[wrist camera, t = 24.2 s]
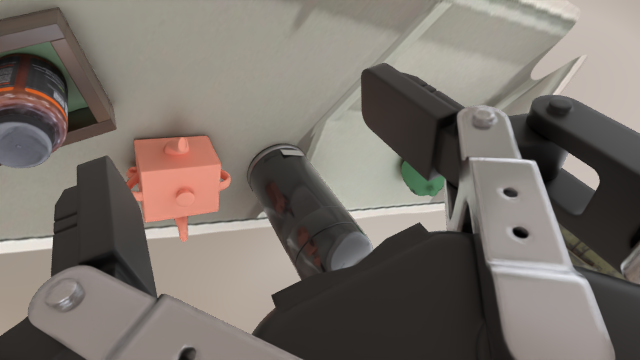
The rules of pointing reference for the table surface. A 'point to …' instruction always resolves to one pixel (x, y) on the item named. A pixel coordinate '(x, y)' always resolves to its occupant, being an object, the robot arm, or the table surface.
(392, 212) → the table surface
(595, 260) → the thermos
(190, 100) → the table surface
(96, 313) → the robot arm
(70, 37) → the organizer
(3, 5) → the table surface
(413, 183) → the alien toy
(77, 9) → the table surface
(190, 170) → the teapot
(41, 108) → the supplement bottle
